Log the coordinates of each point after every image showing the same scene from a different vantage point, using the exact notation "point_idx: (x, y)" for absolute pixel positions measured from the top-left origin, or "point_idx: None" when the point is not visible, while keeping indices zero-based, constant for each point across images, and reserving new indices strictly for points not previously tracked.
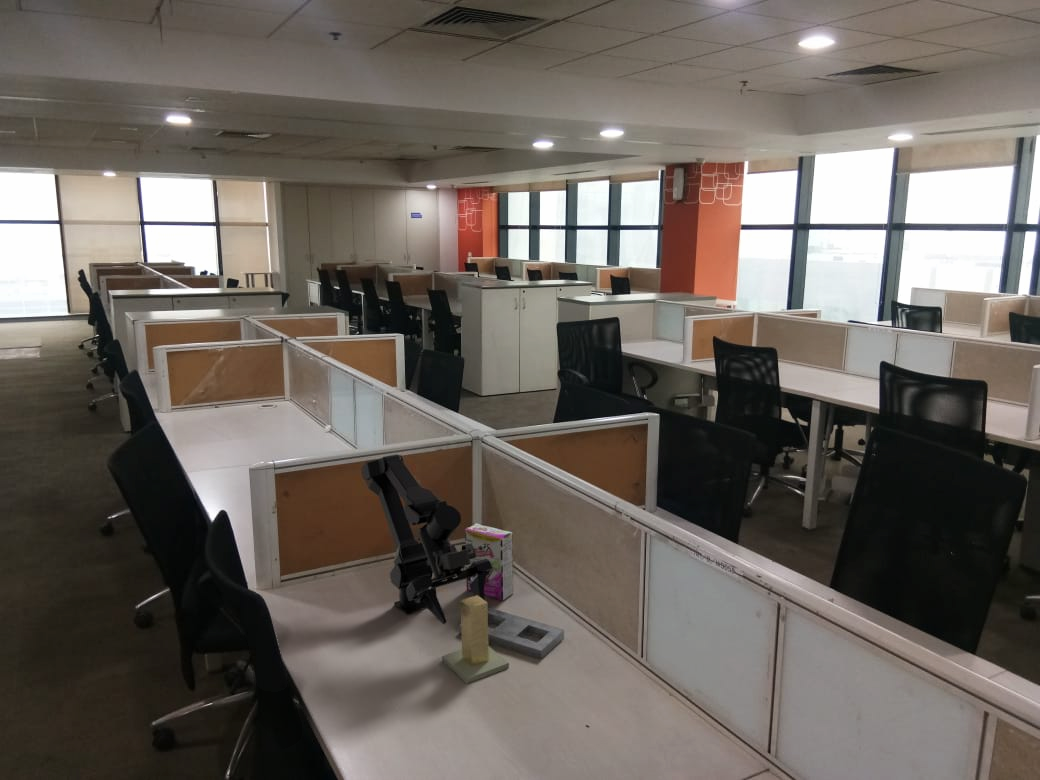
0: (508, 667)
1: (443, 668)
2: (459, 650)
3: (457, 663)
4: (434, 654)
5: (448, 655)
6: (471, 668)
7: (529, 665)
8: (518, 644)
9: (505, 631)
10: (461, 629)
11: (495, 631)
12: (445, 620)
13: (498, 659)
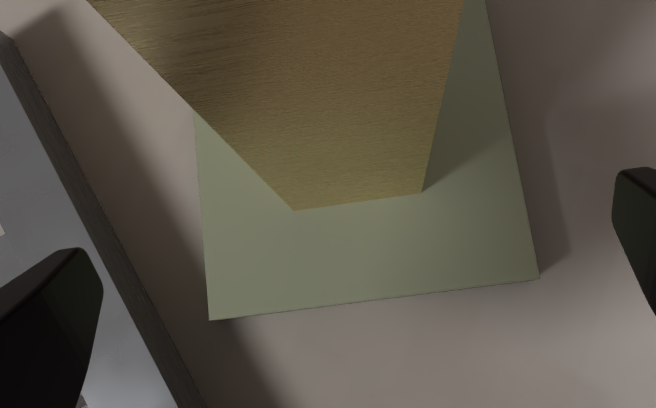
0: None
1: (553, 191)
2: (402, 293)
3: (472, 146)
4: (560, 383)
5: (496, 266)
6: None
7: (93, 15)
8: (43, 142)
9: None
10: (435, 121)
11: None
12: (638, 175)
13: None
